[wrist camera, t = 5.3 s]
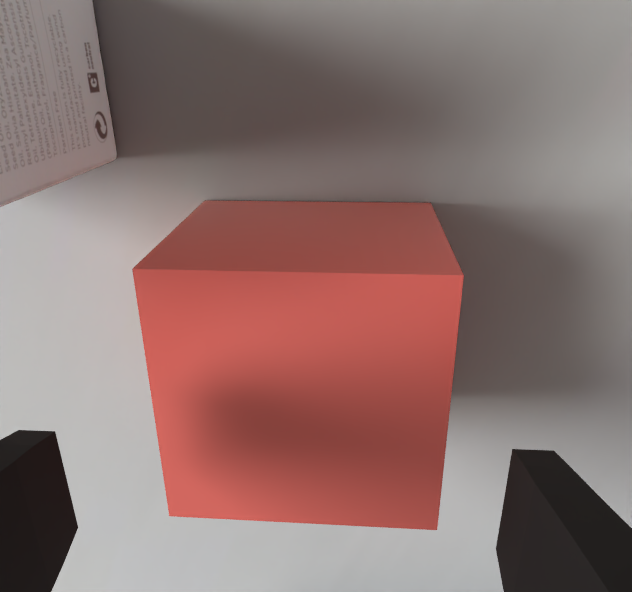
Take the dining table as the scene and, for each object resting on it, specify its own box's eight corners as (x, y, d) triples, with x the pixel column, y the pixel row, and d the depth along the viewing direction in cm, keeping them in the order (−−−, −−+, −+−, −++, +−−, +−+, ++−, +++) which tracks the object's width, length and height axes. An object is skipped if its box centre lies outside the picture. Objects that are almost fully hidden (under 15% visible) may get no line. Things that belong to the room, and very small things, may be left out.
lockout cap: (430, 202, 14) (463, 275, 9) (416, 397, 16) (436, 529, 12) (204, 200, 14) (132, 269, 10) (221, 389, 17) (169, 515, 12)
